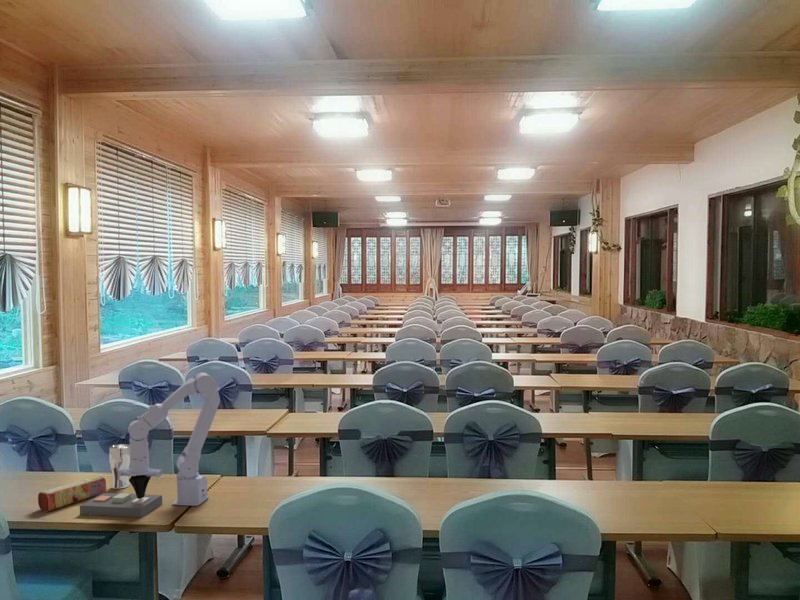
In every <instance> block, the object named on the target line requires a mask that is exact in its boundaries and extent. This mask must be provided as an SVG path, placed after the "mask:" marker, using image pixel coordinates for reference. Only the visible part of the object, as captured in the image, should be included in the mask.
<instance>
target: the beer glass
mask: <svg viewBox="0 0 800 600" xmlns="http://www.w3.org/2000/svg"><path fill="white" fill-rule="evenodd" d="M108 457H109V459H108V460H109V466H110V471H111V475H112V482H111V489H113V490H122V488H123V489H125V488H128V487H129V486H130V485H131V483H130V482H129V479H130V477H129V476H118V470H120V469H129V468H130V451H129V444H126V443H123V444H122V443H120V444H115V445H112V446H109V455H108Z"/></svg>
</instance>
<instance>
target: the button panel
mask: <svg viewBox="0 0 800 600" xmlns="http://www.w3.org/2000/svg"><path fill="white" fill-rule="evenodd" d="M118 494H122V493H120V492H119V493H117V492H116V493H115V492H114V493H113V492H105V493H102V494H101V495H97V496H94V497H92V499H91V498H90V499H89V500H87V501H86V502H84V503H82V504H80V505H79V515H80V516H81V515H82V516H98V515H106V516H105V517H119V516H123V517H124V518H143V517H145V516H146V515H148V514H149V513H151V512H152V511H154V510H155V509H157V508H158V507H160V506H161V505H163V495H162V494H146V493H145V496H144V497H147V498H150V500H148V501H147V502H145V503H144V504H135V503H132V501H133V500H135V499H137V496H136V493H130V494H131V499H130V500H128V501H126V502H124V503H112V498H113V497H114V496H116V495H118ZM100 496H112V498H111V499H109V500H108V501H106V502H93V500H94V499H96V498H98V497H100ZM147 513H148V514H147ZM89 514H91V515H89ZM142 516H143V517H142ZM123 517H122V518H123Z"/></svg>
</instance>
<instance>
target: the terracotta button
mask: <svg viewBox="0 0 800 600" xmlns="http://www.w3.org/2000/svg"><path fill="white" fill-rule="evenodd" d="M111 498H112V496H100V497H98V498H96V499H94V500H93V502H106V501H108V500H109V499H111Z"/></svg>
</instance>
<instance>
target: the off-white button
mask: <svg viewBox="0 0 800 600" xmlns="http://www.w3.org/2000/svg"><path fill="white" fill-rule="evenodd" d="M148 500H150V498H147V497H143V498H142V499H135V500H133V501H132V503H135V504H144V503H145V502H147V501H148Z"/></svg>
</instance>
